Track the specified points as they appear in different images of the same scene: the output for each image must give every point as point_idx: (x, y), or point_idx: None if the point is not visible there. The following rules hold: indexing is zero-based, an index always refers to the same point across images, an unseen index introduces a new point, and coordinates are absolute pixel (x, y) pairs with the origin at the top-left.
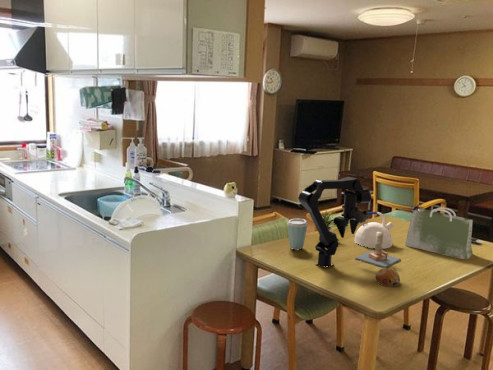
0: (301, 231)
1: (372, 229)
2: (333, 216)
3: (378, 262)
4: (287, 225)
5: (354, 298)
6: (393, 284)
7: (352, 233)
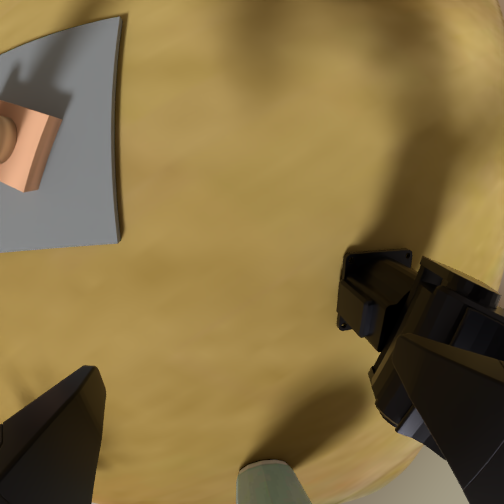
0: None
1: None
2: None
3: (78, 81)
4: None
5: (500, 41)
6: None
7: (101, 385)
